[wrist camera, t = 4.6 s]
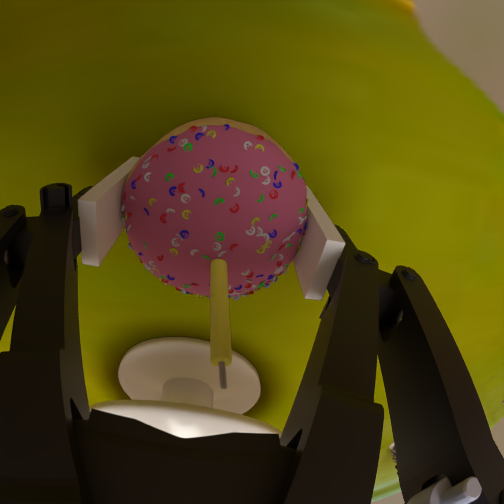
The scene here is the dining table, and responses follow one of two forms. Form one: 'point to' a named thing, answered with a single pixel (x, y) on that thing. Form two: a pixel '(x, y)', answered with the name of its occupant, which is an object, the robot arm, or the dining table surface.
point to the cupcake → (216, 215)
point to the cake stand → (186, 389)
